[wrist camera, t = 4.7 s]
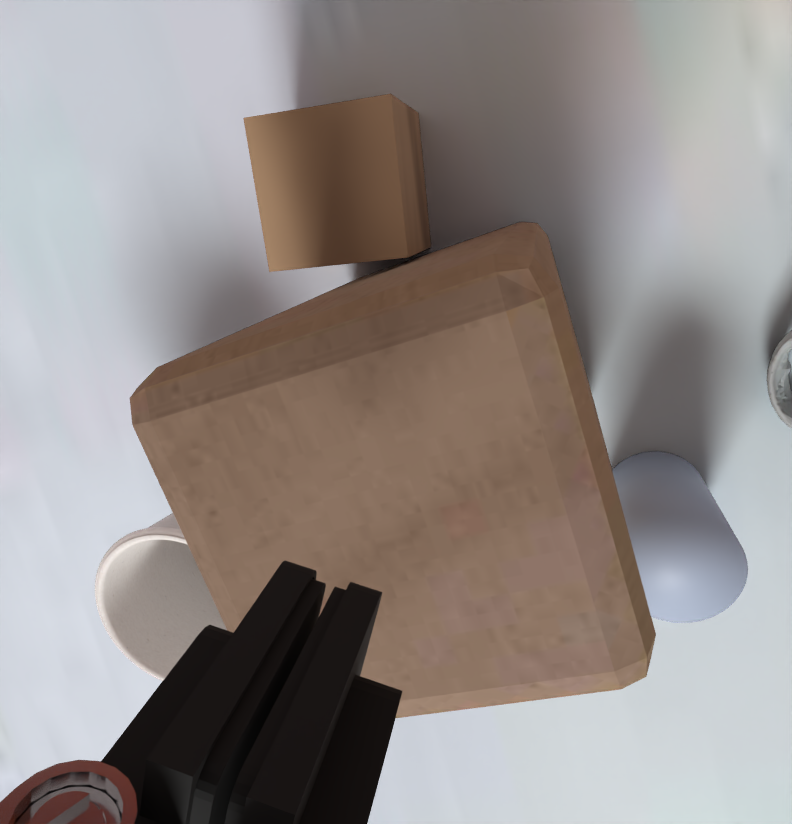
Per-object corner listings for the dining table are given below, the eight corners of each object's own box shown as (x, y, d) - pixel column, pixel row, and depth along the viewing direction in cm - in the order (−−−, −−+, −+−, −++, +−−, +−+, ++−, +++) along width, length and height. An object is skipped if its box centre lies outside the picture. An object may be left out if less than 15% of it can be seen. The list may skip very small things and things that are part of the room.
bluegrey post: (722, 468, 32) (769, 537, 25) (683, 553, 34) (717, 638, 27) (621, 439, 32) (641, 499, 26) (588, 523, 34) (599, 600, 28)
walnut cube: (418, 113, 30) (390, 93, 24) (431, 246, 31) (408, 257, 26) (296, 132, 31) (243, 117, 26) (315, 259, 33) (269, 271, 27)
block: (346, 281, 33) (95, 391, 14) (541, 213, 30) (545, 239, 11) (410, 459, 35) (264, 752, 16) (596, 412, 32) (674, 704, 14)
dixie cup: (360, 507, 37) (299, 612, 27) (285, 600, 40) (207, 722, 30) (242, 418, 36) (140, 494, 27) (176, 518, 40) (64, 616, 30)
